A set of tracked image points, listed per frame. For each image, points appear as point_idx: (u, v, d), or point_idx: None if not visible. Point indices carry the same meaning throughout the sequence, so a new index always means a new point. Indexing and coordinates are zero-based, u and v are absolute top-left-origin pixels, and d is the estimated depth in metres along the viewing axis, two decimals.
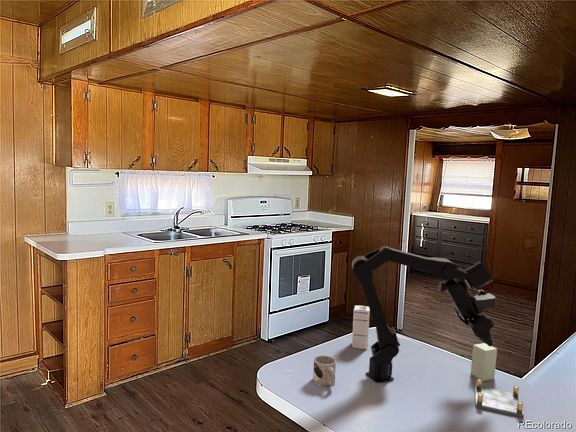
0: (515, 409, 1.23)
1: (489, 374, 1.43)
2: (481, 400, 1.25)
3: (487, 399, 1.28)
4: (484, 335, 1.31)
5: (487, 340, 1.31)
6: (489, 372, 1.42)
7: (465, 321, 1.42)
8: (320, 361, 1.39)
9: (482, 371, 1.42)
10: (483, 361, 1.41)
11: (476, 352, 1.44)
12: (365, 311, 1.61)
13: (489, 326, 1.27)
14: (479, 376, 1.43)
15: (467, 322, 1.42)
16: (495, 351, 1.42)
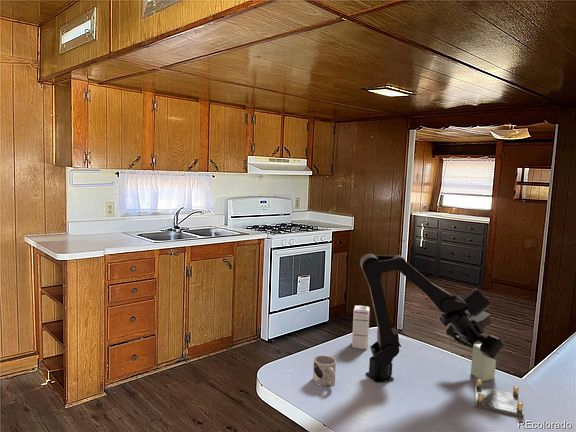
0: (515, 409, 1.23)
1: (489, 374, 1.43)
2: (481, 400, 1.25)
3: (487, 399, 1.28)
4: None
5: (495, 356, 1.38)
6: (489, 372, 1.42)
7: (461, 341, 1.46)
8: (320, 361, 1.39)
9: (482, 371, 1.42)
10: (483, 361, 1.41)
11: (476, 352, 1.44)
12: (365, 311, 1.61)
13: (501, 345, 1.33)
14: (479, 376, 1.43)
15: (463, 341, 1.46)
16: None
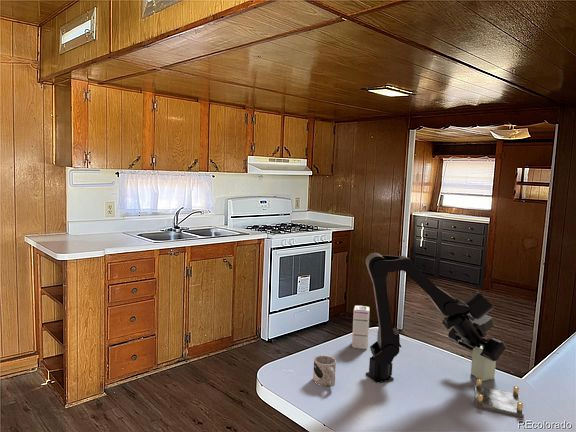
0: (515, 409, 1.23)
1: (489, 374, 1.43)
2: (481, 400, 1.25)
3: (487, 399, 1.28)
4: None
5: None
6: (489, 372, 1.42)
7: (468, 346, 1.45)
8: (320, 361, 1.39)
9: (482, 371, 1.42)
10: (483, 360, 1.41)
11: (476, 352, 1.44)
12: (365, 311, 1.61)
13: (503, 349, 1.34)
14: (479, 376, 1.43)
15: (469, 346, 1.45)
16: None
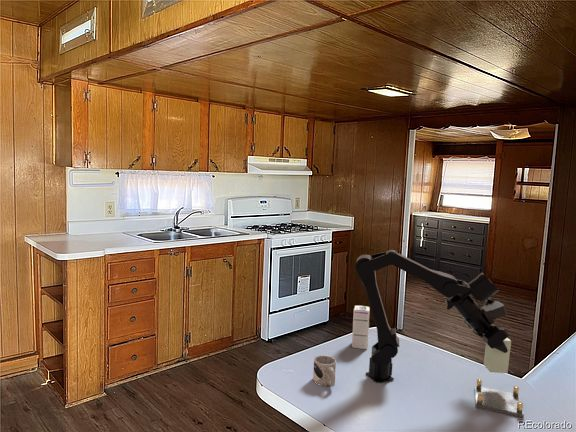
0: (515, 409, 1.23)
1: (500, 366, 1.33)
2: (481, 400, 1.25)
3: (487, 399, 1.28)
4: None
5: (501, 347, 1.31)
6: (499, 364, 1.32)
7: (481, 334, 1.37)
8: (320, 361, 1.39)
9: (491, 361, 1.33)
10: (492, 350, 1.32)
11: None
12: (365, 311, 1.61)
13: (504, 337, 1.25)
14: (488, 367, 1.34)
15: (483, 335, 1.37)
16: (508, 343, 1.32)
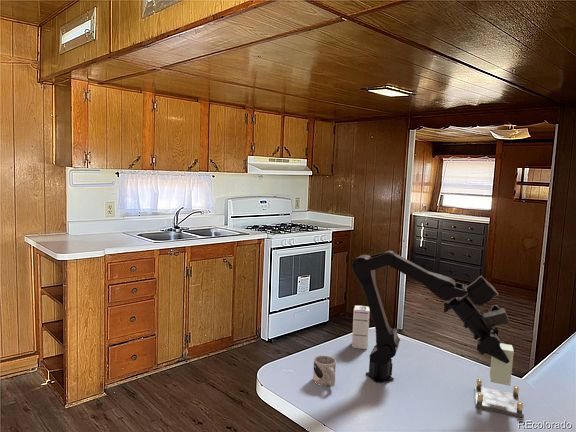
0: (515, 409, 1.23)
1: (502, 377, 1.25)
2: (481, 400, 1.25)
3: (487, 399, 1.28)
4: (496, 352, 1.24)
5: (501, 357, 1.24)
6: (500, 375, 1.25)
7: None
8: (320, 361, 1.39)
9: (491, 371, 1.26)
10: (492, 359, 1.26)
11: None
12: (365, 311, 1.61)
13: (494, 344, 1.19)
14: (490, 376, 1.28)
15: None
16: (511, 353, 1.24)
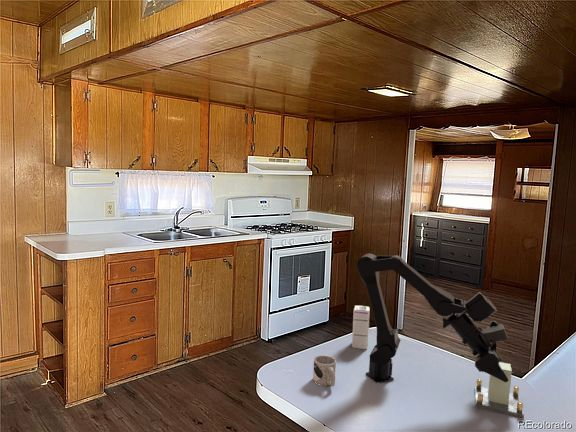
0: (515, 409, 1.23)
1: (500, 396, 1.26)
2: (481, 400, 1.25)
3: (487, 399, 1.28)
4: (495, 370, 1.23)
5: (500, 375, 1.23)
6: (499, 394, 1.26)
7: None
8: (320, 361, 1.39)
9: (489, 390, 1.27)
10: (490, 378, 1.27)
11: None
12: (365, 311, 1.61)
13: (492, 361, 1.19)
14: None
15: None
16: (509, 373, 1.25)
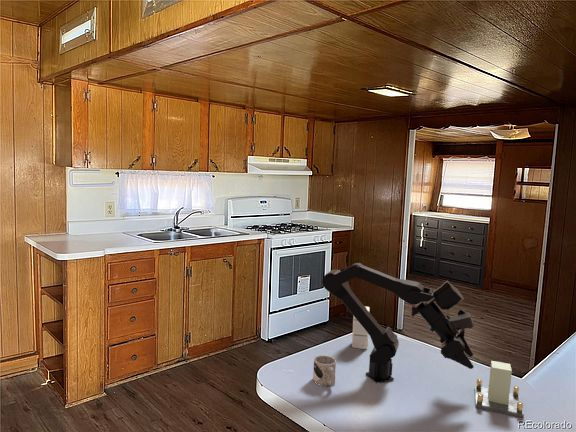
0: (515, 409, 1.23)
1: (500, 396, 1.26)
2: (481, 400, 1.25)
3: (487, 399, 1.28)
4: (460, 357, 1.26)
5: (465, 362, 1.26)
6: (499, 394, 1.26)
7: None
8: (320, 361, 1.39)
9: (489, 390, 1.27)
10: (490, 378, 1.27)
11: (490, 369, 1.29)
12: None
13: (457, 348, 1.23)
14: None
15: None
16: (509, 373, 1.25)
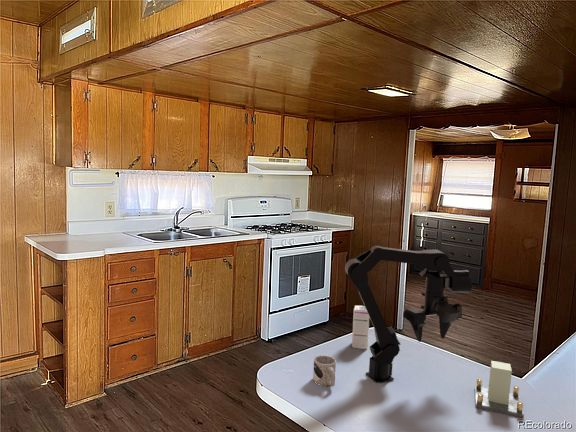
0: (515, 409, 1.23)
1: (500, 396, 1.26)
2: (481, 400, 1.25)
3: (487, 399, 1.28)
4: (416, 327, 1.37)
5: (416, 333, 1.37)
6: (499, 394, 1.26)
7: (440, 318, 1.43)
8: (320, 361, 1.39)
9: (489, 390, 1.27)
10: (490, 378, 1.27)
11: (490, 369, 1.29)
12: (365, 311, 1.61)
13: (411, 319, 1.34)
14: None
15: (440, 320, 1.42)
16: (509, 373, 1.25)
